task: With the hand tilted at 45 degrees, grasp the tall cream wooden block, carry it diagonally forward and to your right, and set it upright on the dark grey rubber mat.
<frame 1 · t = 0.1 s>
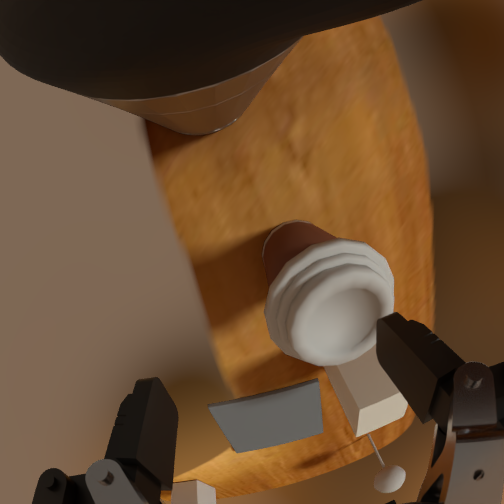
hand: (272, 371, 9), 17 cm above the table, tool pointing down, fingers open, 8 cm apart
coffee cup: (294, 251, 27), on the table
lollipop: (367, 433, 43), on the table
mat: (272, 421, 36), on the table
milk carton: (193, 484, 44), on the table
block: (341, 340, 32), on the table
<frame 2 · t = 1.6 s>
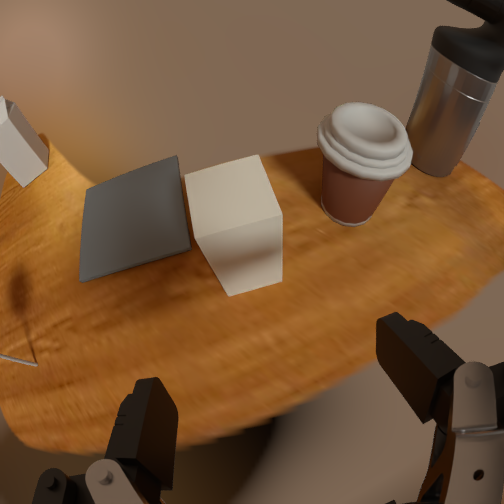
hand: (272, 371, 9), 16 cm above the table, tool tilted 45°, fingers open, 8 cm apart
coffee cup: (347, 204, 31), on the table
lollipop: (37, 365, 25), on the table
mat: (129, 215, 33), on the table
milk carton: (37, 169, 42), on the table
block: (248, 264, 29), on the table
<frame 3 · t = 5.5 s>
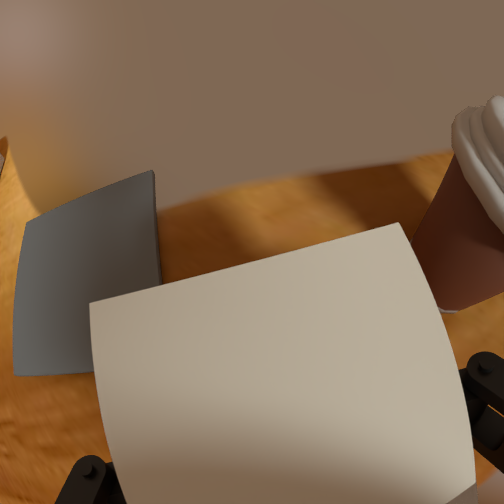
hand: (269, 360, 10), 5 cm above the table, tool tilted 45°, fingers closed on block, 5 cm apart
coffee cup: (441, 270, 16), on the table
mat: (75, 275, 18), on the table
block: (280, 397, 14), on the table, touching gripper
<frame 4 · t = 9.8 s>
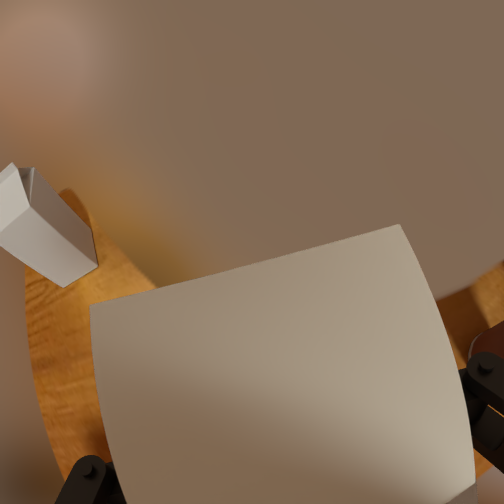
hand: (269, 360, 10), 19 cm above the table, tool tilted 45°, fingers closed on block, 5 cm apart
coffee cup: (483, 356, 24), on the table
milk carton: (78, 259, 35), on the table
block: (281, 397, 14), point 14 cm above the table, touching gripper
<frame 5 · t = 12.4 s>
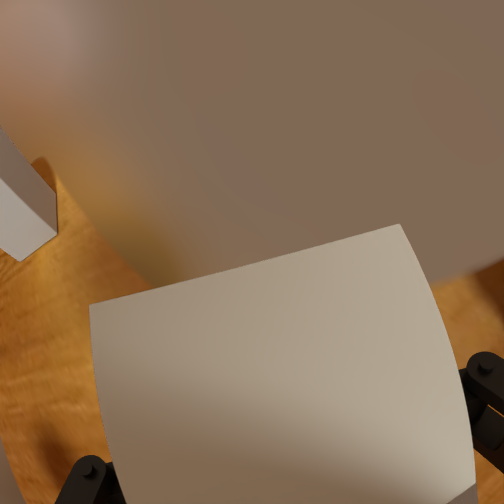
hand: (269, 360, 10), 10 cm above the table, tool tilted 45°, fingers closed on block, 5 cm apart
milk carton: (39, 228, 27), on the table
block: (281, 397, 14), point 4 cm above the table, touching gripper
when the fingers open (7 cm above the table, at t = 14.5 s): block stays where it is, resting on mat.
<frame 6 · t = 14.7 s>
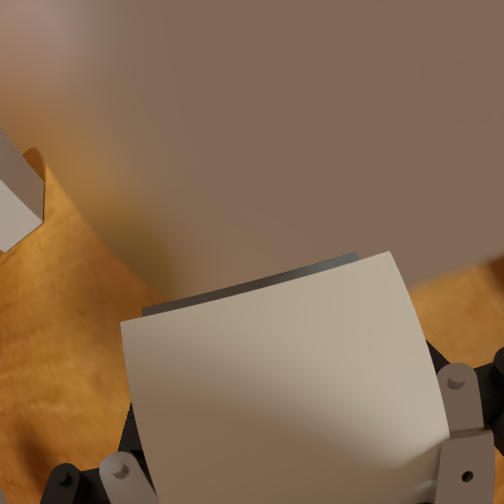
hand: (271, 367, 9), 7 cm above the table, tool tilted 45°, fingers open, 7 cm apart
mat: (280, 396, 15), on the table
milk carton: (25, 217, 24), on the table
block: (282, 398, 14), point 1 cm above the table, touching mat
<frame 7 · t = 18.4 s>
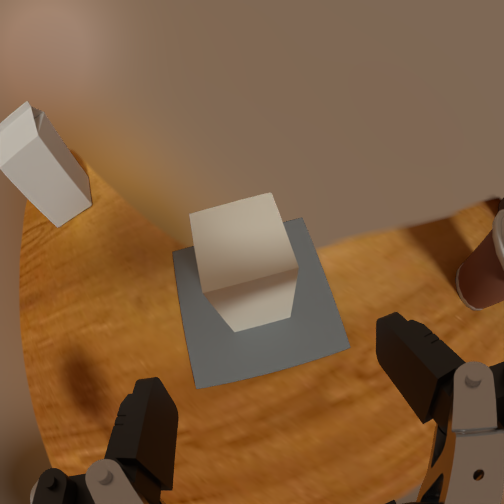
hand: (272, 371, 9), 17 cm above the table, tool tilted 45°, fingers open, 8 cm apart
coffee cup: (473, 286, 26), on the table
mat: (254, 299, 28), on the table
milk carton: (74, 202, 37), on the table
block: (255, 298, 27), point 1 cm above the table, touching mat
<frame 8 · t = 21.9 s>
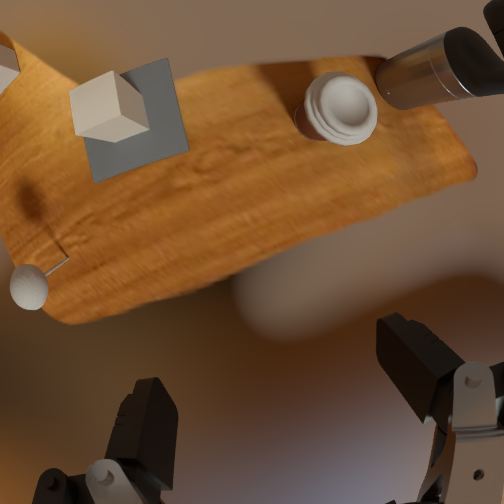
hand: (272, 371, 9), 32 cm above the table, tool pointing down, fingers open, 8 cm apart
coffee cup: (314, 120, 37), on the table
lollipop: (68, 257, 39), on the table
mat: (128, 118, 34), on the table
milk carton: (6, 74, 26), on the table
block: (128, 118, 33), point 1 cm above the table, touching mat
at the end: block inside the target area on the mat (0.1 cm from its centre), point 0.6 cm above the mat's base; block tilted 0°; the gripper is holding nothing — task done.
